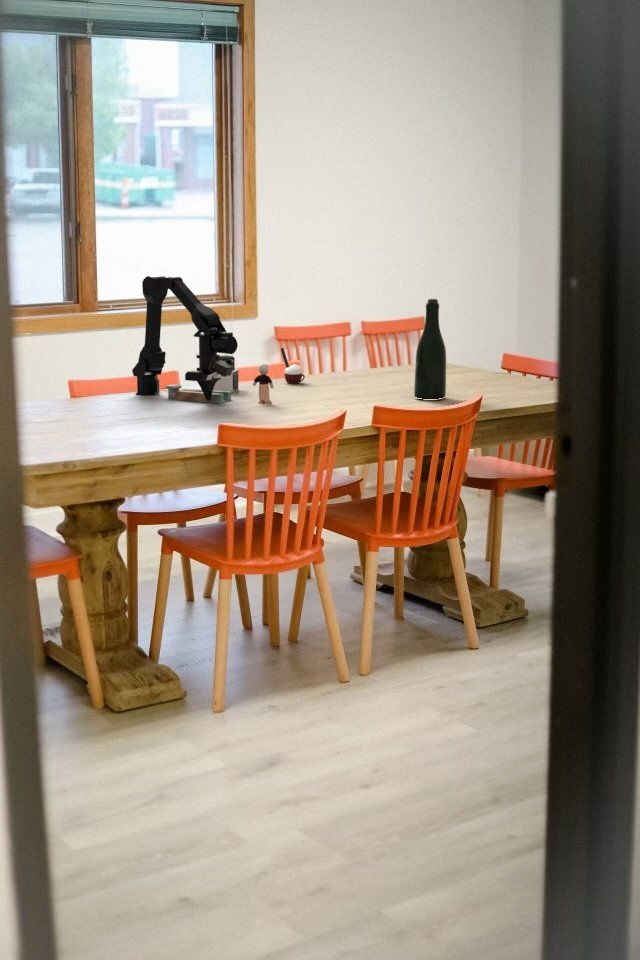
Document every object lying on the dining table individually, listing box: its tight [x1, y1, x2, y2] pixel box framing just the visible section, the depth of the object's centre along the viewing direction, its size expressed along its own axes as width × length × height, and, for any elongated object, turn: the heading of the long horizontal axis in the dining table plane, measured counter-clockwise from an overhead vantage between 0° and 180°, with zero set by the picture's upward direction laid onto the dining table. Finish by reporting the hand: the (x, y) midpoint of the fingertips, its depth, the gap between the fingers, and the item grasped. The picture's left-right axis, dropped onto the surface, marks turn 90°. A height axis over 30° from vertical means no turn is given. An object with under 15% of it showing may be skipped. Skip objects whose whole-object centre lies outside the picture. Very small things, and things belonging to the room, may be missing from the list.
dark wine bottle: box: [413, 298, 447, 399], centre depth 403 cm, size 10×10×33 cm
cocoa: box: [280, 347, 306, 385], centre depth 434 cm, size 10×6×12 cm, turn 38°
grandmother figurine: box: [252, 363, 274, 405], centre depth 395 cm, size 8×4×13 cm, turn 71°
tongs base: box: [165, 384, 232, 402], centre depth 402 cm, size 22×6×4 cm, turn 74°
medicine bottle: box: [213, 354, 239, 394], centre depth 418 cm, size 7×7×12 cm
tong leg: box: [175, 389, 225, 404], centre depth 398 cm, size 16×2×3 cm, turn 67°
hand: (208, 400), depth 395 cm, fingers closed
